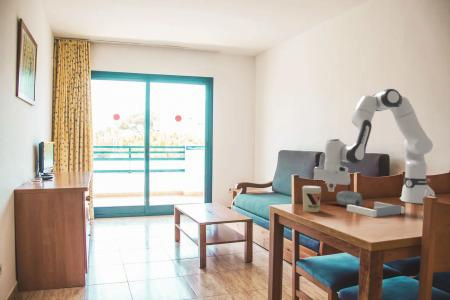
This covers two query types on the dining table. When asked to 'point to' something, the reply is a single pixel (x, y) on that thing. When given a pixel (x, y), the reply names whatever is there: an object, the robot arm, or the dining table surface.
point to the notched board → (377, 209)
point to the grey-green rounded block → (349, 198)
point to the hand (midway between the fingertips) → (331, 191)
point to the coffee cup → (311, 198)
